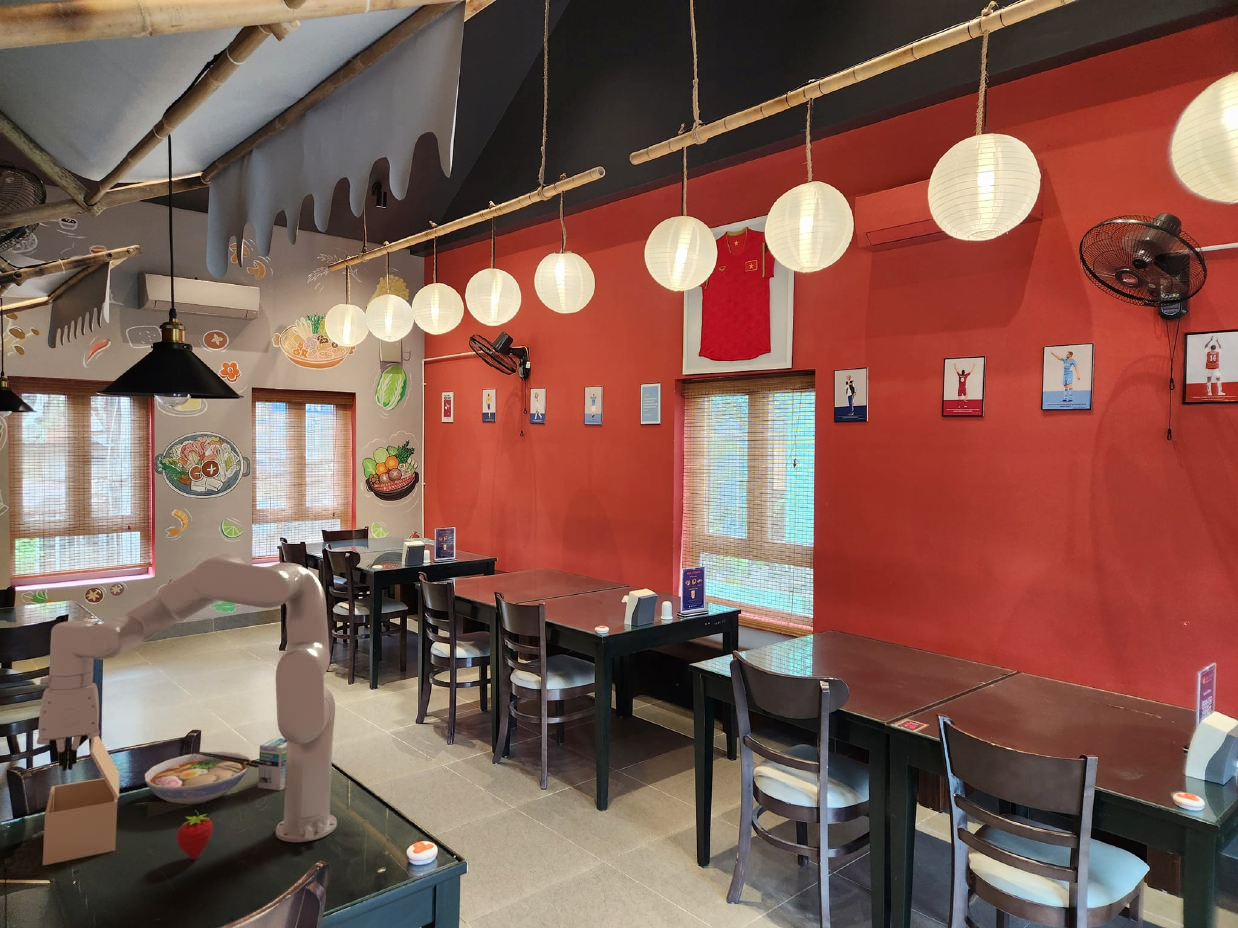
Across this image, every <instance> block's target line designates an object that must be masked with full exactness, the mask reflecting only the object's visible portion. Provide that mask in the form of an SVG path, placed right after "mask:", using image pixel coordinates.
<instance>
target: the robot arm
mask: <svg viewBox="0 0 1238 928" xmlns="http://www.w3.org/2000/svg"><path fill="white" fill-rule="evenodd" d="M326 599H327V598H326V594H325V591H324V588H323V586H322V583H321V582H320V580H319V579H318V577H317V576H316V575H315V574H314V573H313V572H312V571H311V570H309V569H308V568H306V567H304V566H302V565H299V564H297V563H293V562H278V563H275V564H273V565H271V566H268V567H264V566H258V565H252V564H247V563H245V561H244V560H243V559H241V558H240V557H239V556H237V555H235V554H231V553H224V554H219V555H216V556H214V557H210V558H207V559H205V560H203V561H202V562H200V563H199V564H198V565H197V566H196V568H194V569H192V570H191V571H188V572H187V573H185V574H183V575H182V576H180V577H178V578H176V579H174V580H173V581H171V582H169V583H167V584H166V585H164V586H162V587H161V588H160V589H159V592H158V593H157V594H156V595H155V596H153V597H152V598H151V599H149V600H147V601H146V602H144V603H142V604H140V605H139V606H137V607H135V608H133V609H132V610H130V611H128V612H126V613H124V614H122V615H121V616H119V617H114V618H113V619H111V620H108V621H105V622H102V623H98V624H94V623H93V622H92V621H88V620H70V621H63V622H59V623H56V624H55V625H54V626H52V628H51V630H50V632H51V633H50V651H49V656H50V657H49V671H48V672H49V675H47V676H46V677H42V678H41V677H40V682H39V685H42V686H43V685H44V686H47V688H46V689H44V690H43V691H44V692H42V693H43V694H42V697H41V703H40V708H39V709H40V710H39V719H38V728H37V729H38V731H37V733H38V734H37V735H38V737H37V741H36V744H37V745H42V746H47V745H48V746H51V747H53V748H54V749H55V750H57V752H58V767H62V772H65V771H67V770H68V771H71V770H73V766H74V765H77V763H78V762H77V761H78V759H77V758H78V749H79V748H80V747H81V746H82V745H83V744H84V743H85V742H86V741H87V740H92V738H94V737H97V736H99V737H100V733H101V731H100V729H99V728H100V727H99V724H100V723H99V722H100V721H99V720H100V703H99V702H100V700H99V691H98V690H99V689H98V686H97V683H95V682H93V681H94V663H95V661H94V660H110V659H113V658H116V657H118V656H120V655H122V654H124V653H126V652H127V651H130V650H132V649H134V648H135V647H138V646H139V645H141V644H143V643H144V642H146V641H147V640H150V639H152V638H153V637H155V636H156V635H159V633H161V632H163V631H165V630H168V628H170V627H171V626H173V625H175V624H178V623H182V622H183V621H185V620H187V619H188V618H190V617H192V616H194V615H195V614H197V613H198V612H200V611H203V610H204V609H206V608H207V607H209V606H210V605H212V604H214V603H216V602H218V601H220V602H225V603H231V604H237V605H243V606H249V607H255V608H262V609H272V608H273V609H274V608H277V607H281V606H282V605H284V604H285V606H286V621H285V622H286V638H287V639H286V640H287V641H286V646H287V647H286V651H285V652H284V654H282V655H281V657H280V659H279V661H278V664H277V666H276V671H275V698H276V701H275V702H276V717H277V718H276V719H277V720H276V721H277V727H278V731H279V733H280V735H282V736H283V737H284V738H285V739H286V740H287V749H286V770H285V788H284V803H283V820H282V821H280V822H279V823H278V824H277V826H276V827H275V836H276V838H278V839H279V840H281V841H284V842H287V843H305V842H310V841H315V840H318V839H321V838H324V837H326V836H328V835H329V834H331V833H332V832H334V831H335V830H336V828H337V826H338V825H337V824H338V821H337V818H336V816H335V815H332V814H331V792H332V791H331V789H332V788H331V787H332V784H331V783H332V763H333V762H332V761H333V760H332V759H333V742H334V741H333V738H334V726H335V718H336V702H335V698H334V695H333V694H332V692H331V691H330V690H329V689H328V688H327V687H325V684H324V683H325V682H324V681H325V680H324V679H325V678H324V676H325V674H326V672H327V671H328V669H329V667H330V665H331V654H330V653H331V652H330V645H329V644H330V643H329V642H330V641H329V640H330V638H329V626H328V614H327V613H328V612H327V610H328V609H327V608H328V607H327V600H326ZM68 738H73V739H72V743H70V746H69V747H68V745H67V744H66V739H68Z"/></svg>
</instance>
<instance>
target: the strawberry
mask: <svg viewBox="0 0 1238 928" xmlns="http://www.w3.org/2000/svg"><path fill="white" fill-rule="evenodd" d="M196 813H197V816H195V815H194V816H184V818H186V819H187V820H188V821H186V822H184V823H182V824H181V825H182V826H180V828H179V830H178V831H177V833H176V840H177V845H178V847H179V848H180V850H182V851H183V852H184V854H186V855H187V856H188V857H189V858H190V859H191V860H196V859H198V858H199V857H200V855H201V854H202V852H203V850H205V847H206V846H207V844H208V843H209V840H211V836H212V834H213V830H214V825H213V822H212V821H211V820H210V819H211V818H210V817H205V816H206V815H207V814H208V813H206V814H201V815H200V814H199V812H198V811H196Z"/></svg>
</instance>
